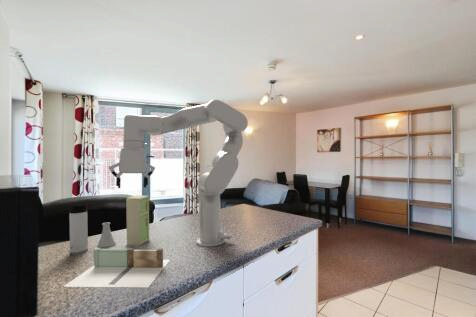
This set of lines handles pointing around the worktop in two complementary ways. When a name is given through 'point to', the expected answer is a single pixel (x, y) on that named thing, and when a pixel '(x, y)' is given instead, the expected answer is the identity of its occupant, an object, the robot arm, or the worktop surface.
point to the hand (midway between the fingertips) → (132, 187)
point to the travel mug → (78, 229)
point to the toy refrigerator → (137, 219)
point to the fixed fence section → (145, 258)
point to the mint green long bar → (110, 257)
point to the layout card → (117, 276)
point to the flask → (106, 237)
